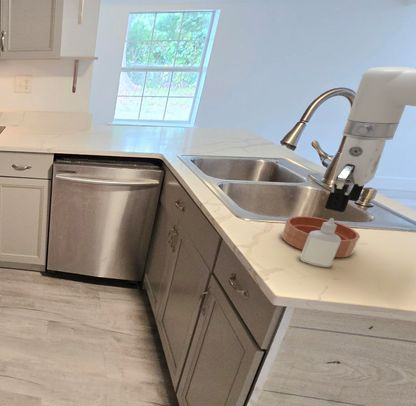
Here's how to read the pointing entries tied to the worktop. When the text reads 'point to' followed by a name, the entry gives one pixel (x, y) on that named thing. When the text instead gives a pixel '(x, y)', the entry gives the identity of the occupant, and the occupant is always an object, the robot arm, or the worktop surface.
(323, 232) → the eye dropper bottle
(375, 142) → the robot arm
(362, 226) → the worktop surface
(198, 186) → the worktop surface
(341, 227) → the bowl
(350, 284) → the worktop surface
